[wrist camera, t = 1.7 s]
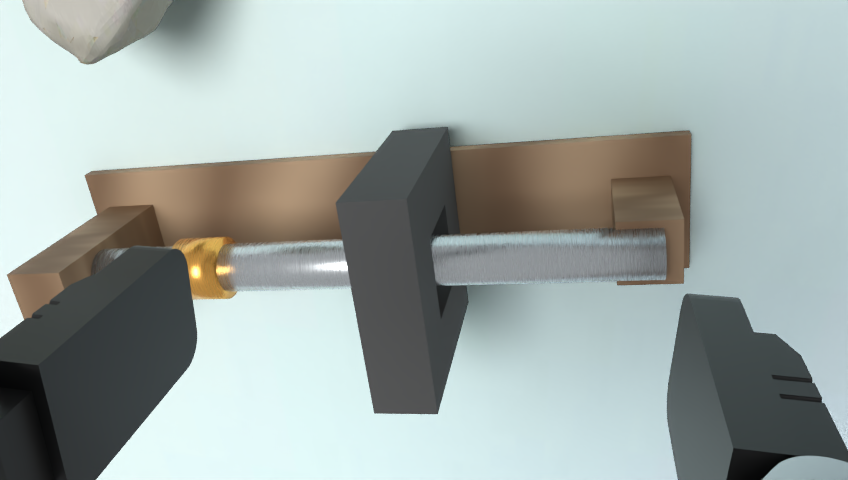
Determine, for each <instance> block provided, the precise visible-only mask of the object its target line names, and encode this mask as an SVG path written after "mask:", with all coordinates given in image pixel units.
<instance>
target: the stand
mask: <svg viewBox="0 0 848 480" xmlns="http://www.w3.org/2000/svg"><path fill="white" fill-rule="evenodd" d="M450 151H451V159H452V168H453V177H454V185H455V194H456V202H457V211H458V219H459V228H460V234H473V233H497V232H521V231H544V230H568V229H592V228H616V230H622V229H646V228H664V230H665V238H666V251H667V275H666V280H641V281H617V285H646V284H684V268H689V252H690V182H691V133H690V131H675V132H660V133H645V134H631V135H616V136H601V137H587V138H572V139H557V140H543V141H528V142H513V143H499V144H484V145H469V146H455V147H450ZM375 153H376V152H367V153H352V154H337V155H323V156H308V157H293V158H278V159H264V160H249V161H234V162H220V163H205V164H190V165H176V166H161V167H146V168H132V169H117V170H102V171H91V172H90V173H88V174H86V175H85V178H86V181H87V184H88V187H89V190H90V193H91V197H92V200H93V203H94V206H95V209H96V212H97V215H96V216H95V217H93V218H92V219H90V220H89V221H87V222H86V223H84V224H83V225H81V226H80V227H78V228H77V229H75V230H74V231H72V232H71V233H69V234H68V235H66V236H65V237H63V238H62V239H60V240H59V241H57V242H56V243H54V244H53V245H51V246H50V247H48V248H47V249H45V250H44V251H42V252H41V253H39V254H38V255H36V256H35V257H33V258H32V259H30V260H28V261H27V262H25V263H24V264H22V265H21V266H19V267H18V268H16V269H15V270H13V271H12V272H10V273H9V274H7V276H8V279H9V281H10V284H11V286H12V289H13V292H14V294H15V297H16V299H17V302H18V305H19V307H20V310H21V312H22V315H23V318H24V320H25V319H26V318H31V317H32V314H33V313H34V312H35V311H37V310H38V309H39V308H41V307H42V306H43V305H45V304H49V303H50V300H51V299H52V298H54V297H55V296H56V295H58V294H59V293H60V292H62V291H63V290H64V289H65V288H67V287H68V286H69V285H71V284H73V283H75V282H77V281H79V280H82V279H84V278H86V277H89V276H91V267H92V262H93V259H94V257H95V255H96V254H97V253H98V252H99V251H100V250H102V249H115V248H130V247H132V246H149V247H163V246H174V244H175V243H176V242H177V241H178V240H180V239H185V238H208V237H230V238H232V239H233V240H234V241H235V242H236V243H258V242H282V241H306V240H330V239H342V236H341V230H340V225H339V219H338V214H337V209H336V202H337V200H338V199H339V198H340V197H341V195H342V194H343V193H344V192H345V190H346V189H347V188H348V187H349V185H350V184H351V183H352V181H353V180H354V179H355V178H356V176H357V175H358V174H359V173H360V171H361V170H362V169H363V168H364V166H365V165H366V164H367V163H368V161H369V160H370V159H371V158H372V156H373V155H374V154H375Z"/></svg>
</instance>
